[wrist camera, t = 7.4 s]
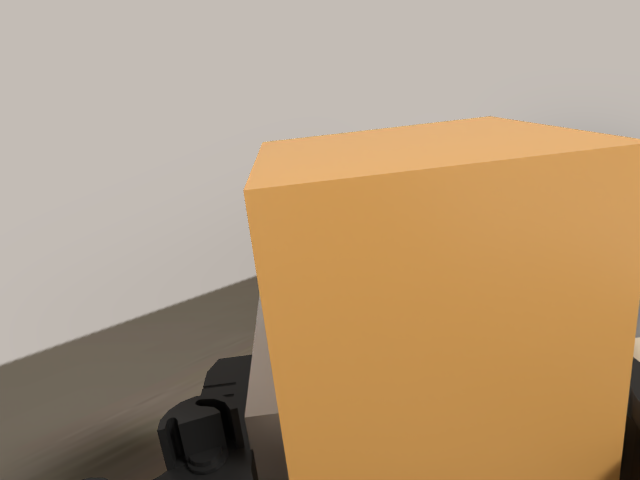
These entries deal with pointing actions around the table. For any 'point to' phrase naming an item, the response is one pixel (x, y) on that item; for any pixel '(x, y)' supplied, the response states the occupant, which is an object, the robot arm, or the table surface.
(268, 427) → the robot arm
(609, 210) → the connector plug
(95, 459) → the table surface
